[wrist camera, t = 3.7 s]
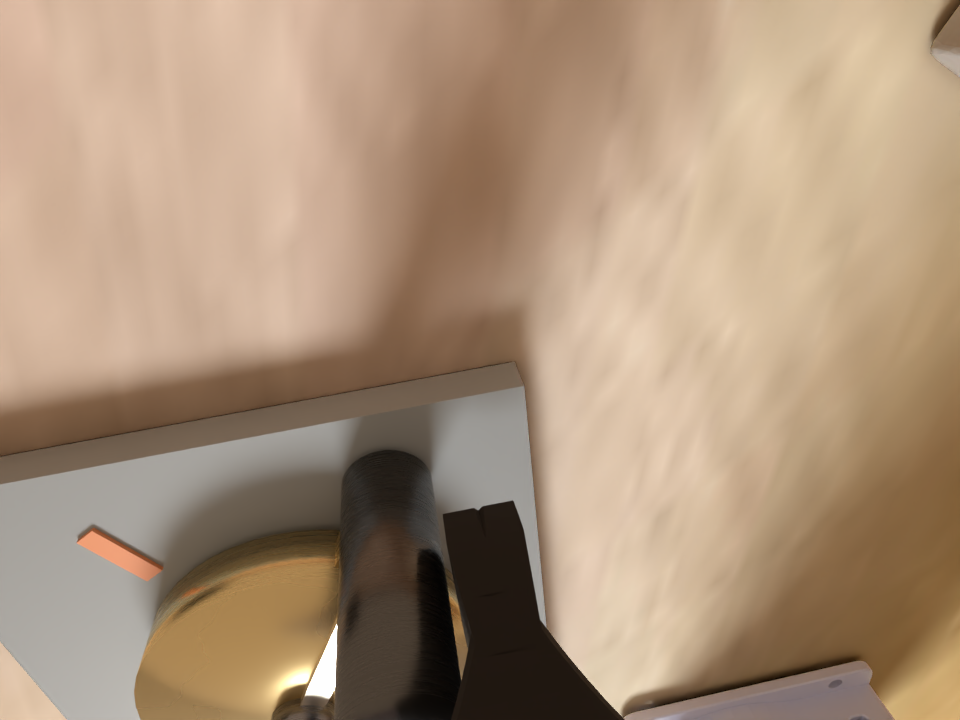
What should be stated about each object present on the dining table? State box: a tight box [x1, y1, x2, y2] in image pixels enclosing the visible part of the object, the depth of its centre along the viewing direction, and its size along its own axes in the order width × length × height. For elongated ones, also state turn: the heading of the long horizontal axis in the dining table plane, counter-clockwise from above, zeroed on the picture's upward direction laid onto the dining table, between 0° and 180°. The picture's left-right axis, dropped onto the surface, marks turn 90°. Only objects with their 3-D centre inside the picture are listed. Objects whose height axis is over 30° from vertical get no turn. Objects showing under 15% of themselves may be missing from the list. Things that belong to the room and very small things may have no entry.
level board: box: [0, 362, 547, 720], centre depth 18 cm, size 13×15×1 cm
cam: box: [134, 450, 468, 720], centre depth 14 cm, size 10×8×6 cm
